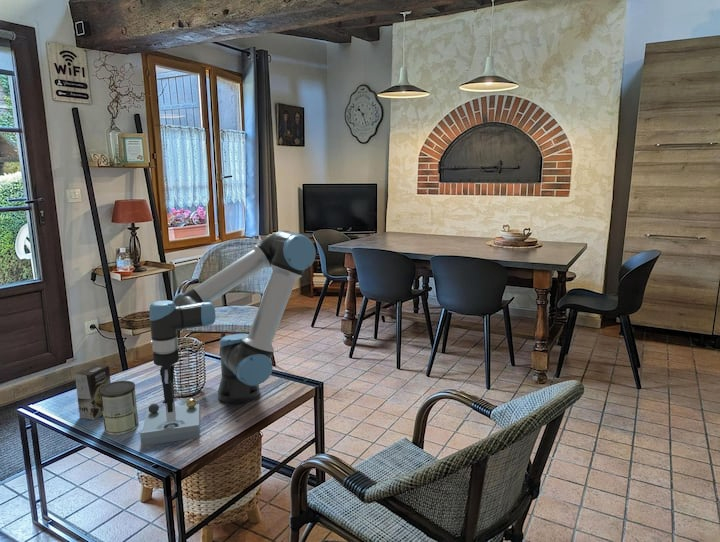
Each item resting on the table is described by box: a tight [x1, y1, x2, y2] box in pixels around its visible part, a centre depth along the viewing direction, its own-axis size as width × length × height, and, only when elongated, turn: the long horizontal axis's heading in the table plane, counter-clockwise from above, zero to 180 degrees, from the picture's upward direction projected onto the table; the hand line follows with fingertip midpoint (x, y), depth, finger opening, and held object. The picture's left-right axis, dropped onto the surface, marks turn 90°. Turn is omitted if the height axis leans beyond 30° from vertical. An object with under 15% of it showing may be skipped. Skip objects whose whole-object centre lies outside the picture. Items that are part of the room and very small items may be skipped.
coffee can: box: [100, 380, 139, 436], centre depth 165 cm, size 10×10×14 cm
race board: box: [139, 403, 201, 447], centre depth 166 cm, size 17×19×4 cm
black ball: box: [148, 403, 160, 413], centre depth 170 cm, size 3×3×3 cm
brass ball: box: [186, 398, 197, 408], centre depth 174 cm, size 3×3×3 cm
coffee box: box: [74, 363, 112, 421], centre depth 174 cm, size 9×6×16 cm
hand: (171, 419), depth 164 cm, fingers closed
